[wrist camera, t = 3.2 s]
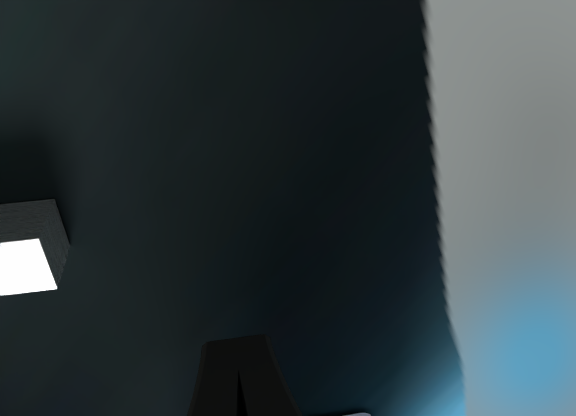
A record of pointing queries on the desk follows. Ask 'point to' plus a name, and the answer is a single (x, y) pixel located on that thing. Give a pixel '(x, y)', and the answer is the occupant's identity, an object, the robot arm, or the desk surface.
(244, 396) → the robot arm
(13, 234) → the bar
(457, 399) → the desk surface
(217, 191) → the desk surface
